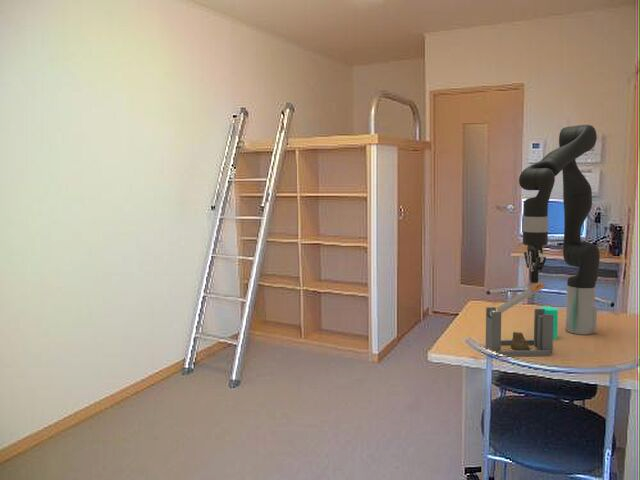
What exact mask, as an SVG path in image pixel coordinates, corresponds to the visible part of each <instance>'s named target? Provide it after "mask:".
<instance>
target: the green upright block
mask: <svg viewBox="0 0 640 480" xmlns="http://www.w3.org/2000/svg"><path fill="white" fill-rule="evenodd" d="M539 309H545V314H553V315H554V319H553V340H557V339H558V328H559V327H558V323H559V322H558V321H559V318H558V317H559V309H558V308H557V307H556V308H555V307H554V306H553V307H552V306H541V307H539Z"/></svg>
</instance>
